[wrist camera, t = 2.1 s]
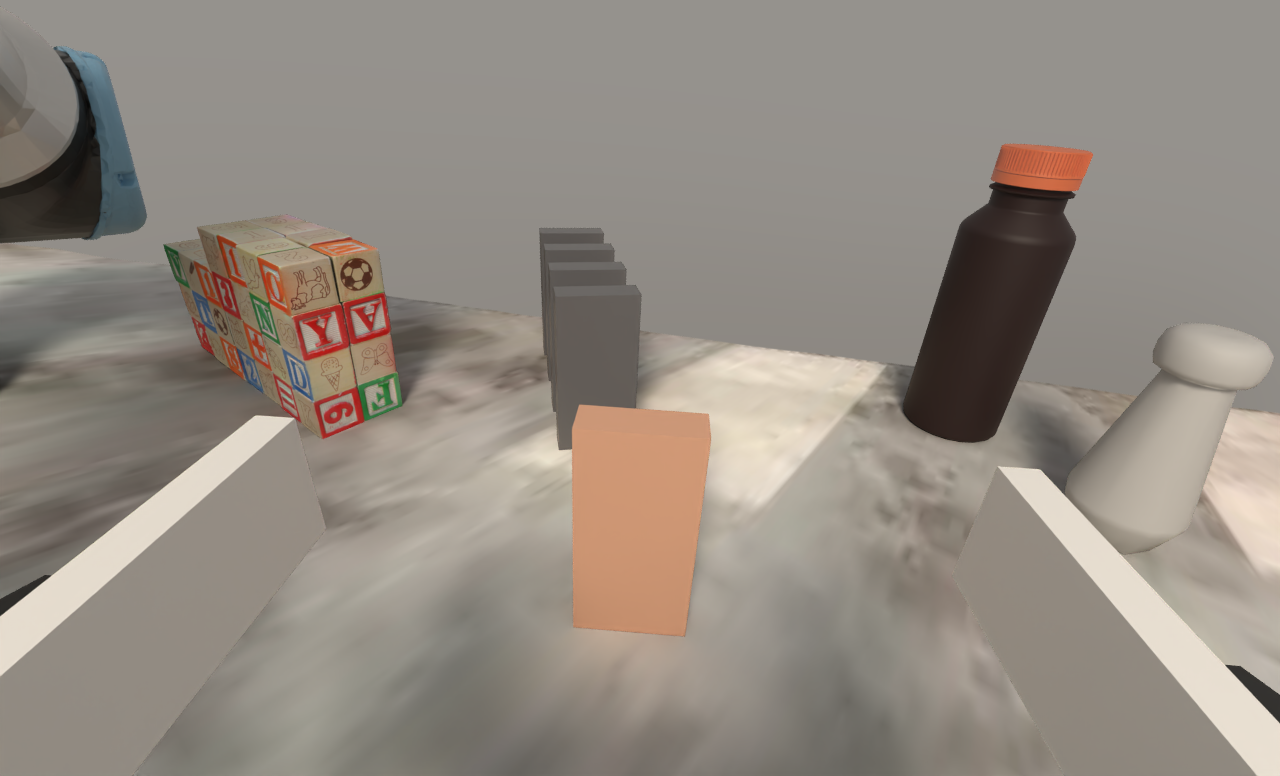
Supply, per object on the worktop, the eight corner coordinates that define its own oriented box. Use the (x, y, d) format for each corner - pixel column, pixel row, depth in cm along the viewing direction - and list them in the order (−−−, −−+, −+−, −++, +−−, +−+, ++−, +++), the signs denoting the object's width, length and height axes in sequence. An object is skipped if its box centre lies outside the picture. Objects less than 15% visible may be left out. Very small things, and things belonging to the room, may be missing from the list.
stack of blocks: (199, 349, 50) (147, 203, 44) (275, 329, 54) (238, 194, 48) (323, 441, 39) (277, 263, 33) (406, 406, 43) (379, 244, 37)
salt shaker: (1093, 564, 32) (1218, 354, 26) (1030, 497, 37) (1122, 308, 31) (1194, 567, 32) (1342, 359, 26) (1118, 500, 37) (1227, 313, 31)
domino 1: (601, 352, 53) (603, 233, 48) (544, 355, 52) (540, 233, 47) (598, 344, 54) (600, 228, 49) (543, 346, 53) (539, 228, 48)
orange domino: (684, 636, 26) (711, 439, 21) (573, 627, 27) (572, 428, 21) (684, 604, 28) (708, 413, 23) (579, 596, 28) (579, 404, 23)
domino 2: (610, 377, 49) (614, 249, 43) (549, 381, 48) (545, 250, 42) (607, 368, 50) (610, 243, 45) (547, 371, 49) (543, 243, 44)
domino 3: (620, 407, 44) (626, 269, 39) (553, 411, 43) (549, 270, 38) (617, 396, 46) (621, 261, 41) (551, 399, 45) (548, 262, 40)
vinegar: (978, 456, 41) (1100, 157, 31) (887, 417, 45) (970, 144, 35) (1007, 423, 45) (1122, 152, 36) (921, 391, 49) (1004, 140, 40)
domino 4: (633, 444, 40) (641, 294, 35) (559, 450, 39) (555, 296, 34) (628, 430, 42) (635, 285, 36) (556, 435, 40) (553, 286, 35)
